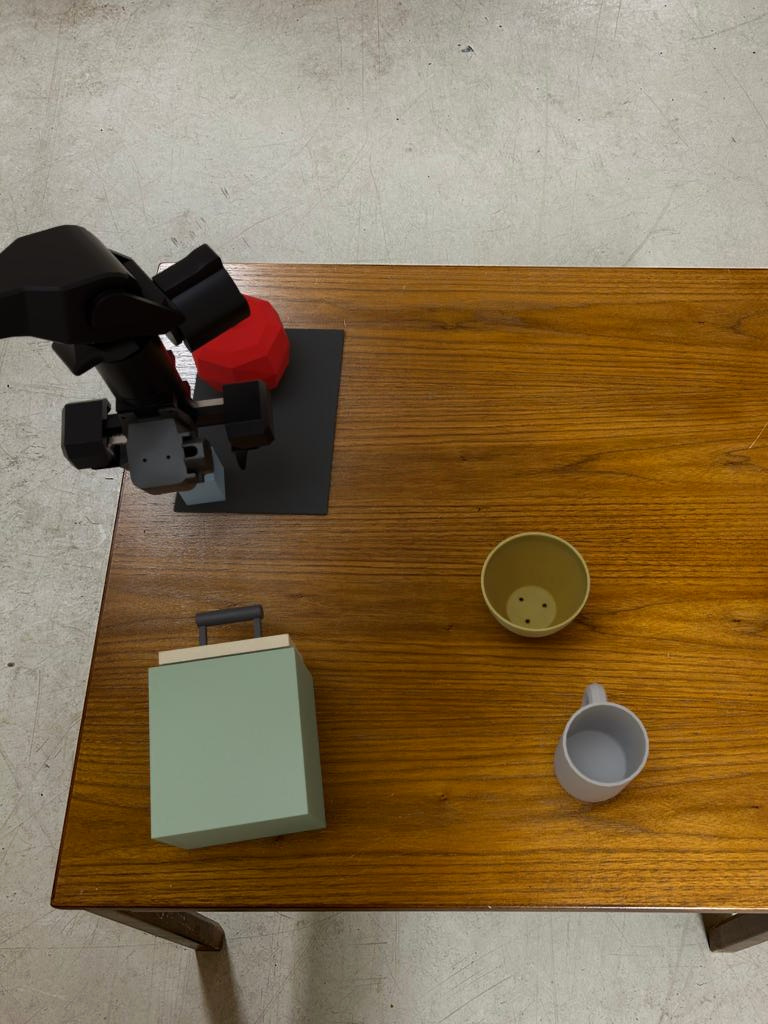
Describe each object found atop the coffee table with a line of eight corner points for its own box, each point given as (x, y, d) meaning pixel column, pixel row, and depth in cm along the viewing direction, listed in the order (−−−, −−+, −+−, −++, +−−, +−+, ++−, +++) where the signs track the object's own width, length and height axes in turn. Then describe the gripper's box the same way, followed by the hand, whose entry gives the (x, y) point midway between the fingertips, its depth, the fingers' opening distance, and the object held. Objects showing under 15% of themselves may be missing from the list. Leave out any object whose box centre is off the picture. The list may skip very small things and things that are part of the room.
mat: (174, 512, 84) (173, 510, 84) (205, 328, 93) (204, 326, 92) (327, 515, 84) (326, 513, 84) (344, 331, 93) (343, 329, 92)
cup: (555, 805, 74) (565, 788, 66) (548, 700, 78) (557, 671, 69) (633, 802, 74) (653, 784, 66) (622, 698, 78) (640, 669, 69)
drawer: (183, 634, 79) (157, 607, 72) (299, 617, 79) (284, 589, 73) (189, 816, 73) (161, 804, 66) (315, 796, 73) (300, 783, 67)
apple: (298, 332, 92) (278, 263, 83) (297, 409, 88) (276, 347, 79) (205, 336, 92) (174, 267, 82) (199, 414, 88) (167, 351, 79)
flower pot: (469, 576, 82) (469, 544, 75) (564, 555, 83) (572, 521, 76) (494, 667, 79) (496, 642, 72) (592, 643, 80) (604, 616, 73)
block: (187, 505, 84) (173, 485, 80) (185, 473, 86) (172, 451, 82) (225, 500, 84) (214, 480, 81) (223, 468, 86) (212, 446, 82)
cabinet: (181, 695, 77) (148, 667, 69) (312, 676, 78) (294, 646, 70) (186, 849, 72) (150, 838, 64) (326, 827, 73) (308, 814, 65)
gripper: (22, 467, 65) (106, 554, 79) (256, 437, 66) (295, 528, 80) (27, 356, 68) (106, 458, 83) (248, 329, 69) (287, 435, 84)
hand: (198, 472), depth 83 cm, fingers open, 9 cm apart
